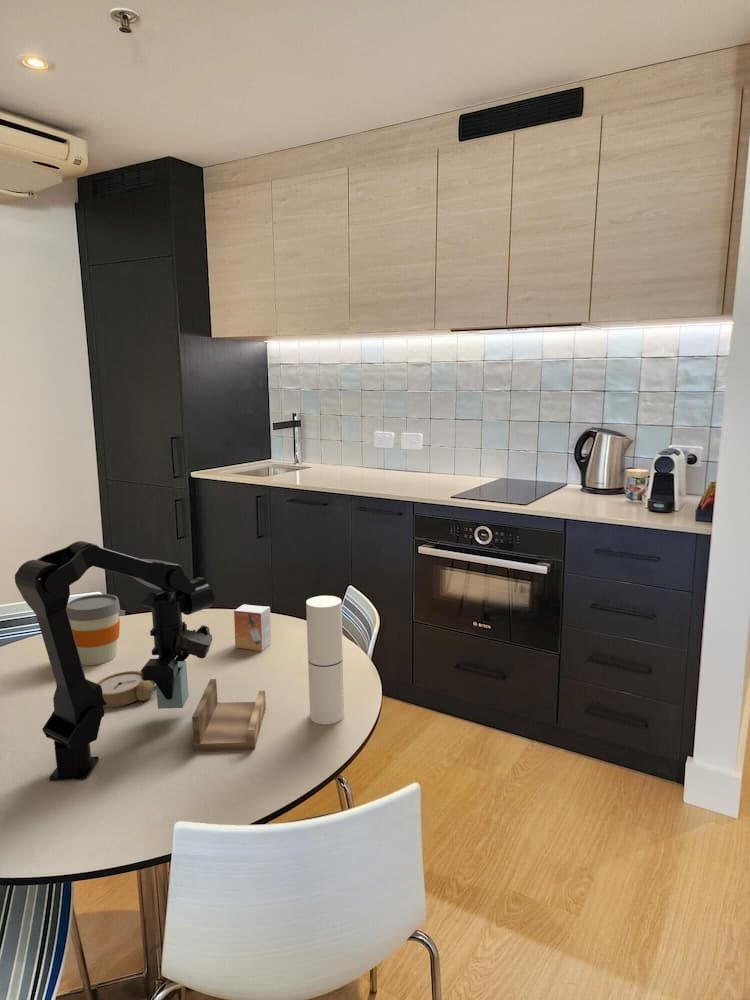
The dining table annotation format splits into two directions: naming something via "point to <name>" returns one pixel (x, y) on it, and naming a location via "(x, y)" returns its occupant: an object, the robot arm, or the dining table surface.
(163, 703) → the teal block
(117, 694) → the alarm clock
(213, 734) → the cleat board
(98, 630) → the reusable coffee cup
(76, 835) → the dining table surface
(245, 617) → the small box
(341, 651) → the cylindrical container
